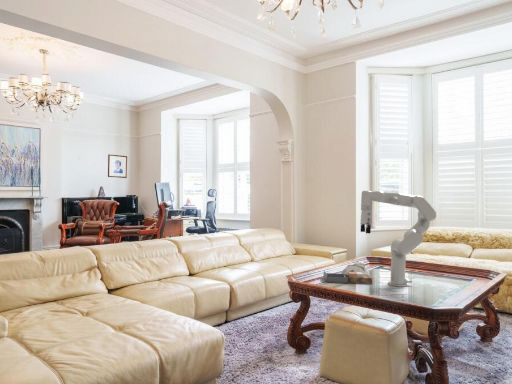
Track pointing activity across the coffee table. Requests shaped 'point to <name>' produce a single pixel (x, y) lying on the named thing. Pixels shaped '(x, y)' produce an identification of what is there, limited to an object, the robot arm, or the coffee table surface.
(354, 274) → the tile
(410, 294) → the coffee table surface
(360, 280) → the plate
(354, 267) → the mask
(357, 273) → the tile
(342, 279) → the box
